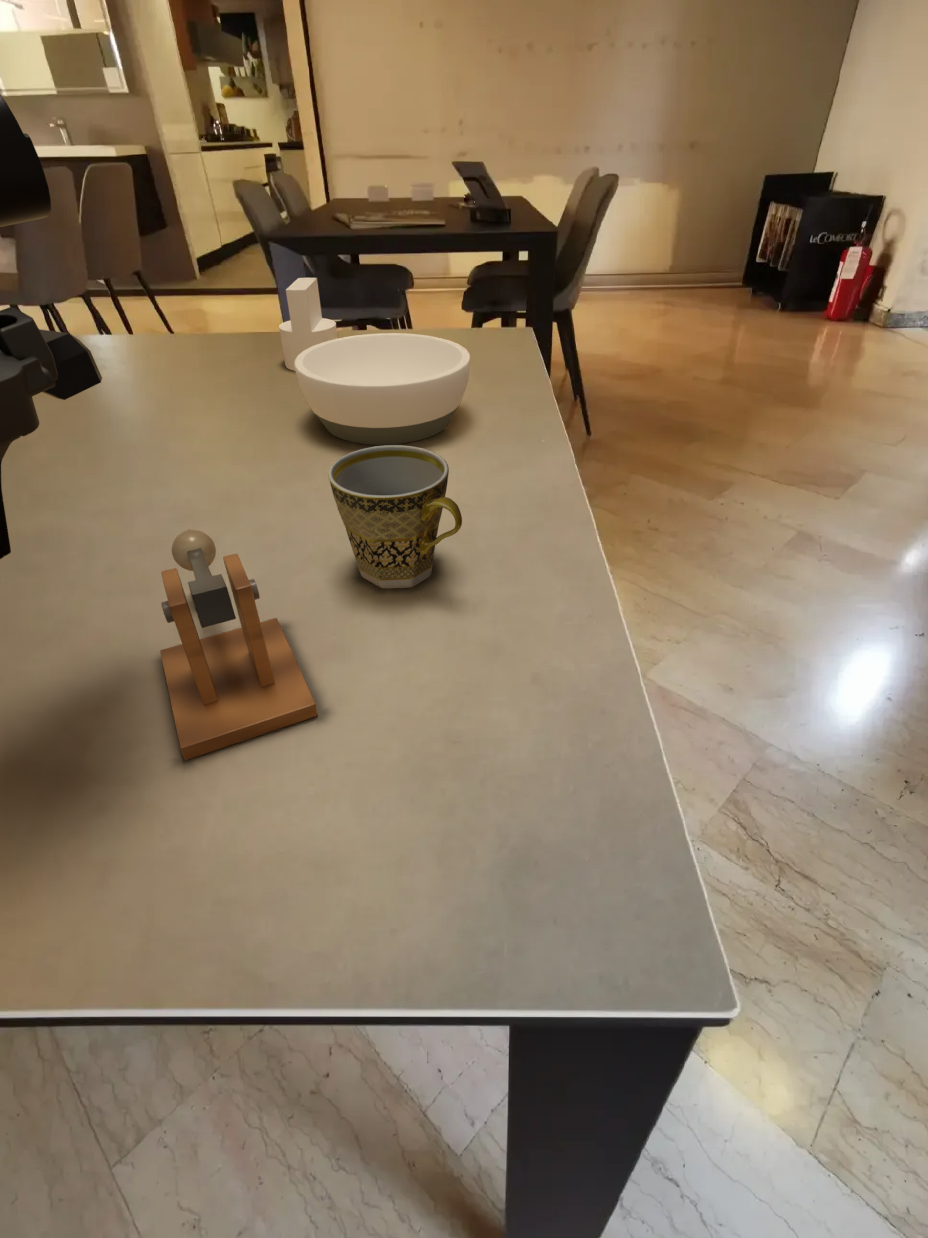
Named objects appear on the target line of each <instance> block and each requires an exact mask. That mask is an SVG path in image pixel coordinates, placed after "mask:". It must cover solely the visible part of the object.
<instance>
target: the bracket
mask: <svg viewBox="0 0 928 1238" xmlns="http://www.w3.org/2000/svg"><path fill="white" fill-rule="evenodd" d="M222 559H223V564H224V567H225V571H226V574H227V578H228V582H229V585H230V589H231V593H232V597H233V600H234V603H235V604H234V605H235V608H236V611H237V616H238V619H239V623H240V627H238V628H235V629H231V630H228V631H227V630H226V631H224V632H221V633H217V634H213V635H209V636H206V637H203V638H200V635H199V633H198V630H197V626H196V624H195V620H194V618H193V614H192V611H191V608H190V605H189V602H188V599H187V596H186V593H185V589H184V587H183V584H182V580H181V577H180V574H179V571H178V568H176V567H174V568H173V567H172V568H170V569H169V568H168V569H165V570H161V571H160V574H161V577H162V578H161V579H162V582H163V586H164V587H163V588H164V591H165V595H166V598H167V600H165V601H161V602H160V603H161V604H160V605H161V608H162V612H163V615H164V618H165V621H166V623H174V624H175V627H176V630H177V633H178V636H179V639H180V642H181V644H177V645H174V646H171V647H167V648H163V649H160V651H159V652H160V658H161V661H162V667H163V672H164V676H165V680H166V686H167V690H168V696H169V700H170V705H171V709H172V714H173V719H174V723H175V728H176V729H175V730H176V734H177V738H178V739H177V740H178V743H179V748H180V751H181V753H182V756H183V758H184V760H185V761H187V760H190V759H193V758H196V757H199V756H202V755H205V754H208V753H211V752H214V751H217V750H221V749H223V748H226V747H229V746H232V745H235V744H238V743H241V742H243V741H247V740H249V739H252V738H253V739H254V738H255V737H259V736H262V735H265V734H268V733H271V732H274V731H276V730H277V731H278V730H279V729H282V728H285V727H288V726H291V725H294V724H297V723H300V722H303V721H306V720H310V719H312V718H314V717H317V716H318V714H319V713H318V709H317V704H316V701H315V700H314V698H313V695H312V693H311V691H310V688H309V686H308V684H307V682H306V679H305V677H304V676H303V673H302V671H301V668H300V666H299V664H298V662H297V659H296V657H295V655H294V652H293V651H292V649H291V646H290V644H289V642H288V640H287V637H286V635H285V633H284V630H283V628H282V626H281V624H280V622H279V620H278V618H277V617H275V618H271V619H268V620H263V621H261V620H260V616H259V612H258V607H257V604H256V600H259V599H260V598H261V596H260V592H259V589H258V585H257V582H256V580H255V579H254V578H252V579H249V577H248V575H247V573H246V571H245V568H244V566H243V563H242V561H241V558H240V556H239V554H238V553H232V554H228V555H225V556H223V557H222Z"/></svg>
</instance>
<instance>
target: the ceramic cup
mask: <svg viewBox="0 0 928 1238" xmlns="http://www.w3.org/2000/svg"><path fill="white" fill-rule="evenodd" d="M449 470H450V469H449V464H448V462H447V461H446V460H445V458H443V456H441V455H439V454H437V453H436V452H435V451H432V450H429V449H426V448H423V447H418V446H412V445H402V444H389V445H374V446H372V447H371V446H370V447H366V448H361V449H357V450H355V451H352V452H349V453H347V454H344V455H343V456H341V457H340V458H339V459H337V460H336V461H335V462H333V464H332V465H331V466H330V468H329V470H328V480H329V485H330V488H331V492H332V495H333V499H334V501H335V505H336V507H337V511H338V513H339V516H340V518H341V521H342V523H343V526H344V528H345V531H346V534H347V537H348V540H349V543H350V546H351V549H352V550H351V551H352V552H353V555H354V558H355V561H356V565H357V567H358V571H359V573H360V576H361V577H362V578H363V579H364V580H366V581H368V582H370V583H372V584H373V585H375V586H377V587H378V588H381V589H406V588H413V587H415V586H417V585H418V584H420V583H421V582H424V581H425V580H427V579H429V578H430V577H431V575H432V572H433V563H434V557H435V550H436V549H435V548H436V545H438V544H439V543H440V542H442V541H443V540H444V539H446V538H449V537H451V536H453V535H455V534H456V533H458V532H459V531H460V530H461V527H462V526H463V517H462V513H461V510H460V508H459V506H458V504H457V503H456V502H455V501H454V500H453V499H452V498H450V497H447V496H446V495H447V488H448V481H449V473H450V471H449ZM444 509H446V510H447V511H449V512H450V514H451V515H452V517H453V518H454V522H455V523H454V527H453V528H452V529H450V530H448V531H445V532H444V533H441V534H440V535H438V532H439V527H440V520H441V518H442V514H443V510H444Z"/></svg>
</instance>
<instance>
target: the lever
mask: <svg viewBox="0 0 928 1238" xmlns="http://www.w3.org/2000/svg"><path fill="white" fill-rule="evenodd" d="M171 555H172V558H173V560H174V562H175V563H176V564H177V566H179V567H181V568H182V569H184V570H186V571H190V572H193V576H194V578H195V580H191V581H188V582H187V585H188V589H189V592H190V595H191V598H192V602H193V605H194V608H195V612H196V614H197V618H198V621H199V624H200V627H201V629H203V628H208V627H211V626H214V625H218V624H219V625H220V624H223V623H225V622H230V621H233V620H236V619H237V617H236V614H235V611H234V607H233V604H232V599H231V596H230V594H229V590H228V587H227V583H226V581H225V579H224V577H223V574H222V573H219V574H215V575H212V572H211V570H210V567H209V566H211V564H213V562H214V560H215V558H216V555H217V548H216V544H215V542H214V540H213V539H212V537H210V536H209V534H207V533H205V532H204V531H202V530H198V529H188V530H184V531H182V532H180V533H179V534H178V535H177V536H176V537H175V538H174V540H173V541H172V545H171Z"/></svg>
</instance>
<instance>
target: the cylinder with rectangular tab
mask: <svg viewBox="0 0 928 1238" xmlns="http://www.w3.org/2000/svg"><path fill="white" fill-rule="evenodd" d="M285 295H286V300H287V307H288V314H289V320H286V321H283V322H282V323H280V324H279V325H278V329H279V335H280V343H281V349H282V354H283V359H284V365H285V367H286V368H287V369H288V370H290V371H293V372H296V371H295V367H294V362H295V359H296V358H297V356H298V355H299V354H300V353H302V352H303V351H304V350H306V349H308V348H310V347H312V346H314V345H317V344H320V343H323V342H326V341H330V340H334V339H338V338H339V337H338V330H337V322H336V321H335V320H332V319H330V318H325V317H323V314H322V307H321V299H320V292H319V283H318V277H298V278H296V280H294V281H293V282H292V283H291V284H290V285H289V286H288V287H287V288H286V289H285Z"/></svg>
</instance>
